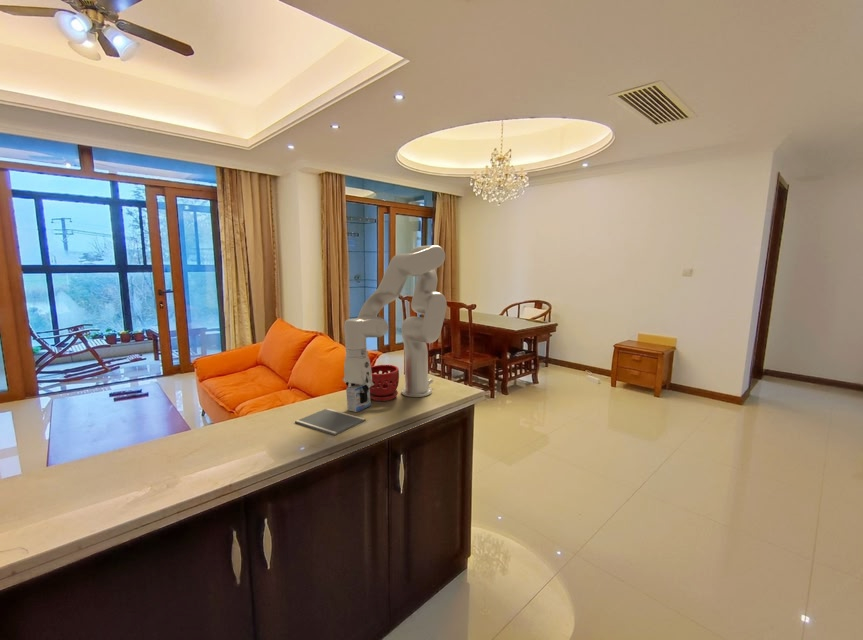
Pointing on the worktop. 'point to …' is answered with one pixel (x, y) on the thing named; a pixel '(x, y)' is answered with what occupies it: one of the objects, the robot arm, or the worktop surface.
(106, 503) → the worktop surface
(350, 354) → the robot arm
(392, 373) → the plant pot
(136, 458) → the worktop surface
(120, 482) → the worktop surface
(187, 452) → the worktop surface
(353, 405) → the medicine box
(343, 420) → the mat
